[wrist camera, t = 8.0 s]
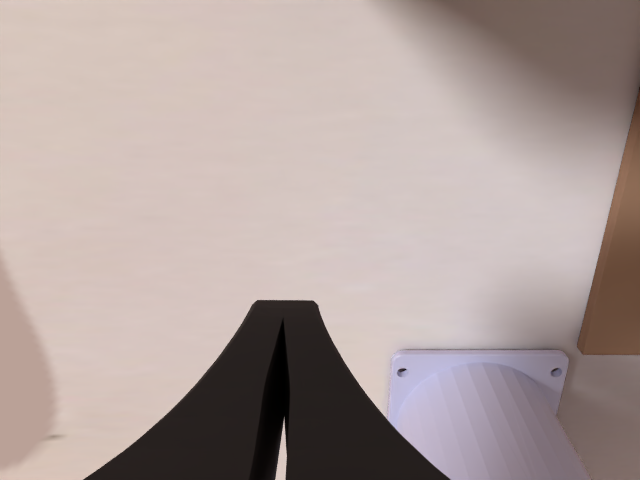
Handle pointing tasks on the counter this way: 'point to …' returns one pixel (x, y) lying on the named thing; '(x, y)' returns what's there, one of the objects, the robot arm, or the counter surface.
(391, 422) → the robot arm
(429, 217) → the counter surface
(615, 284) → the walnut board
